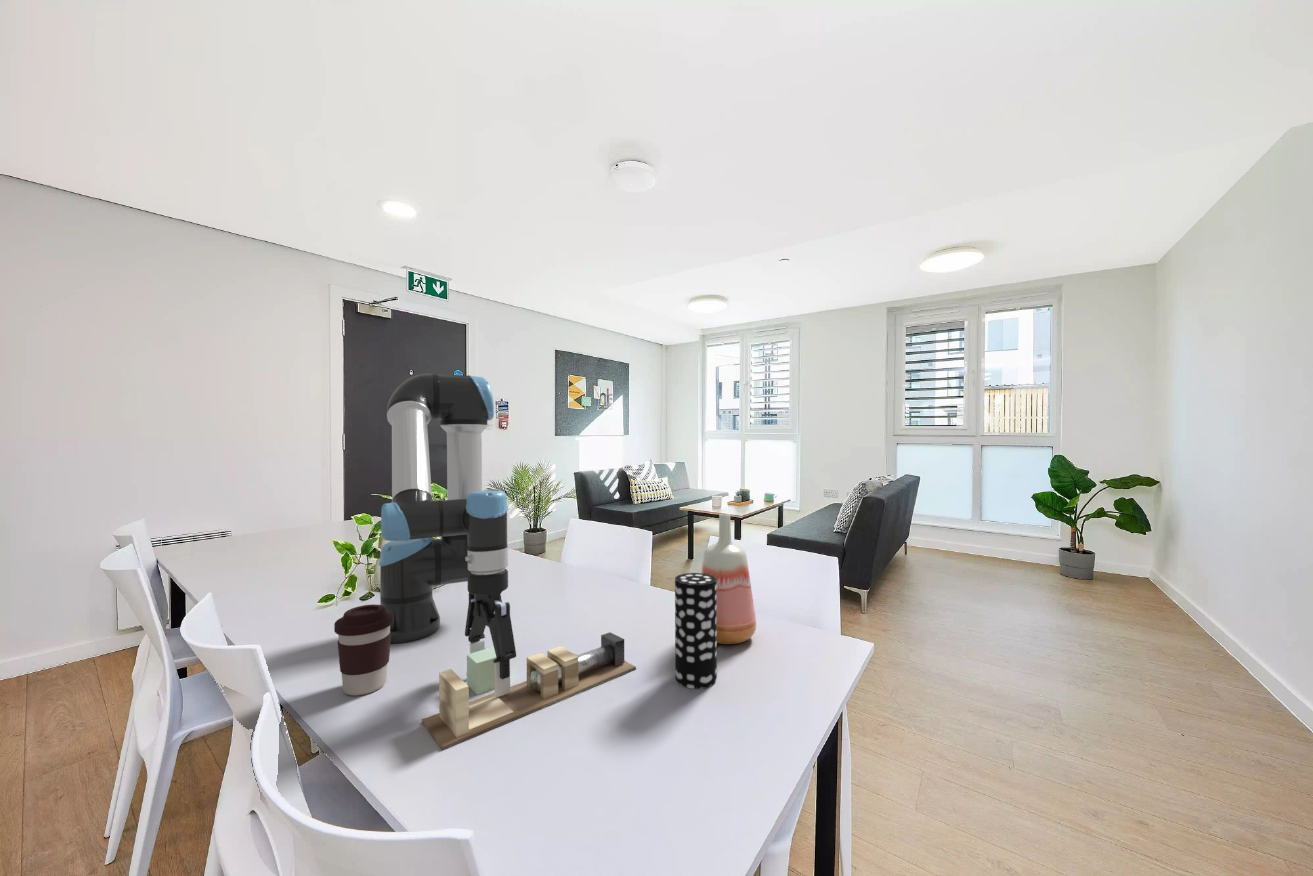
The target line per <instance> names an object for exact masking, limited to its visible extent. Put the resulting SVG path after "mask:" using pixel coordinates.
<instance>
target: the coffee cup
mask: <svg viewBox="0 0 1313 876" xmlns="http://www.w3.org/2000/svg"><path fill="white" fill-rule="evenodd" d="M342 615H343V616H342V617H340V618H338V619H337V620H336V621H335V622H334V624H333V626H334V627H333V629H334V631H333V632H334V633H335V634H336V635H338V640H337V651H338V652H337V653H338V661H339V662H338V663H339V671H340V673H341V680H342V682H341V683H342V691H343V693H345V694H346V695H348V696H362V695H367V694H371V693H373V692H376V691H377V690H379V689H381V688H383V686H384V685H385V684H386V683H387V681H388V679H387V677H388V664H389V662H390V650H391V643H390V640H391V631H390V625H391V624H392V623H393V622H394V613H393V612H391V611H389V610H386V609H385V607H384V606H382V605H380V604H364V605H359V606H356V607H355V606H354V607H353V608H350V609H348V610H347V611H345V612H344V613H343V614H342Z"/></svg>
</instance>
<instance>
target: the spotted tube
mask: <svg viewBox="0 0 1313 876" xmlns="http://www.w3.org/2000/svg"><path fill="white" fill-rule="evenodd" d="M674 627H675V628H674V629H675V630H674V648H675V649H674V653H675V654H674V656H675V657H674V658H675V659H674V664H675V665H674V668H675V669H674V671H675V673H674V675H675V681H676V682H677V683H678V685H679V686H680V685H681V687H685V688H689V689H695V690H696V689H699V690H700V689H706V688H710V687H712V686H713V685H715V684H716V682H717V679H718V673H717V672H718V671H717V670H718V662H717V661H718V660H717V659H718V655H717V654H718V653H717V652H718V650H717V648H718V646H717V644H718V643H717V579H716V578H715V577H714V576H712V575H708V574H703V573H700V572H687V573H682V574H679V575H677V576H675V577H674Z"/></svg>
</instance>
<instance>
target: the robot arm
mask: <svg viewBox="0 0 1313 876" xmlns="http://www.w3.org/2000/svg"><path fill="white" fill-rule="evenodd" d="M493 397H494V396H493V392H492V387H491V385H490V383H489V381H488V379H486V378H485V377H482V376H475V375H464V374H463V375H461V374H439V373H438V374H437V373H434V374H433V373H420V374H418V375H414V376H412V377H410V378H408V379H405V381H403V382H402V383H401V384H399V386H397V388H396V389H395V390H394V392H393V393H392V394H391V396H390V398H389V400H388V403H387V406H386V407H387V408H386V420H387V421H388V423H389V425H391V497H392V498H391V502H390V503H389V502H388V503H387V502H386V503H383V505H382V506H381V510H380V511H381V513H380V515H381V516H380V517H381V519H380V522H381V523H380V526H381V527H380V528H381V530H380V532H381V537H382V539H383V540H384V541H388V542H386V543H384V544H383V545H382V547H381V548H380V559H379V564H378V566H379V567H380V571H379V573H380V576H379V577H380V580H379V581H380V582H379V585H380V587H379V588H380V592H379V593H380V596H379V598H380V600H379V602H380V603H379V605H382V606H384V607H385V609H386V610H389V611H391V612H393V613H394V622H393V623H392V624H391V625H390V631H391V640H390V644H398V643H399V644H400V643H406V642H412V641H415V640H419V639H422V638H426V637H427V636H430V635H432V634H434V633H436V632H437V631H438V630H439V629H440V627H441V617H440V616H441V615H440V613H439V611H438V608H437V606H436V602H435V600H434V597H433V587H437V586H444V585H451V584H457V583H464V582H466V583H467V592H468V606H467V614H466V621H465V629H464V635H465V637H468V638H467V639H468V642H469V654H470V653H474V652H477V651H480V650H484V649H486V648H485V640H484V639H486V635H485V630H486V627H488V629H489V633H490V637H491V641H492V647H494V650H495V654H496V659H495V660H494V661H493V662H494V678H495V688H494V693H495V697H496V698H497V697H500V696H502V695H505V694H508V693H510V687H511V659H514V658H516V657H517V651H516V643H515V639H514V631H513V625H512V620H511V603H510V602H508V601H507V602H503V601H502V595H501V594H502V592H504V591H506V590H507V589H508V587H509V571H508V569H506V568H508V567H509V547H508V510H509V506H508V503H507V493H505V491H503V490H494V489H492V490H491V489H490V490H483V463H482V462H483V460H482V459H483V457H482V456H483V455H482V454H483V453H482V452H483V450H482V449H483V448H482V446H483V445H482V443H483V442H482V440H483V439H482V438H483V437H482V436H483V435H482V433H483V432H484V430H486V429H487V428H488V421H491V420H493V418H494V416H495V412H494V411H495V404H494V398H493ZM431 420H440V425H439V426H440V428H442V429H443V431H445V433H446V466H447V468H446V469H447V472H446V473H447V474H446V475H447V476H446V479H447V482H446V483H447V484H446V487H447V489H446V490H447V491H446V492H447V496H446V497H447V499H439V500H438V499H437V500H436V499H435V500H433V494H432V478H431V477H432V476H431V475H432V474H431V464H430V462H431V461H430V448H429V432H428V425H429V423H430V422H431ZM439 537H440V538H439ZM434 538H436V539H434Z"/></svg>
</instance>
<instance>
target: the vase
mask: <svg viewBox="0 0 1313 876" xmlns="http://www.w3.org/2000/svg"><path fill="white" fill-rule="evenodd" d="M731 526H732V525H731V514H730V513H719V517H718V541H717V542H716V543H713V544H712V545H709V546H708V547H706V548H705V549H704V551H703V556H702V563H701V573H703V574H708V575H712V576H714V577H715V578H716V579H717V644H720V645H736V644H740V643H743V642H746V641H748V640H749V639H751V638H752V637H753V636H754V634H755V633H756V630H757V619H756V618H757V617H756V610H755V604H754V598H753V590H752V583H751V577H750V571H749V566H748V565H749V564H748V557H747V553H746V551H745V549H744V548H742V547H741V546H740V545H737V544H735V543H733V541H732V534H731V533H732V531H731V529H732V528H731Z"/></svg>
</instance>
